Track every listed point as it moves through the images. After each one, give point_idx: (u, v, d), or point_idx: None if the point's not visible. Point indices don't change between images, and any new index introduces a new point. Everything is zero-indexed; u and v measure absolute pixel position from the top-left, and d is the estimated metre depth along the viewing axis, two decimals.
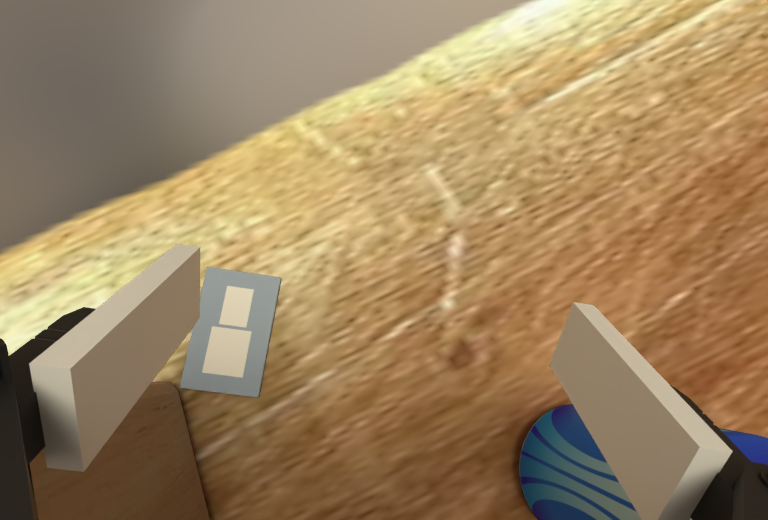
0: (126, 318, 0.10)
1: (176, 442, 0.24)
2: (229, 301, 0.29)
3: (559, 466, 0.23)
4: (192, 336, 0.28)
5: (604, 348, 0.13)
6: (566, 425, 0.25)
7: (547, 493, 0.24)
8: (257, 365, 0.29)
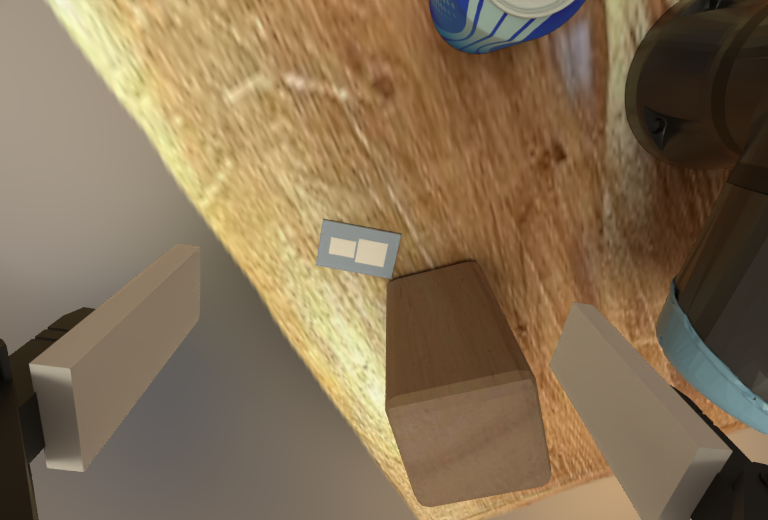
0: (126, 318, 0.10)
1: (420, 282, 0.43)
2: (338, 251, 0.44)
3: (466, 44, 0.32)
4: (360, 272, 0.45)
5: (604, 348, 0.13)
6: (441, 23, 0.33)
7: None
8: (381, 235, 0.44)
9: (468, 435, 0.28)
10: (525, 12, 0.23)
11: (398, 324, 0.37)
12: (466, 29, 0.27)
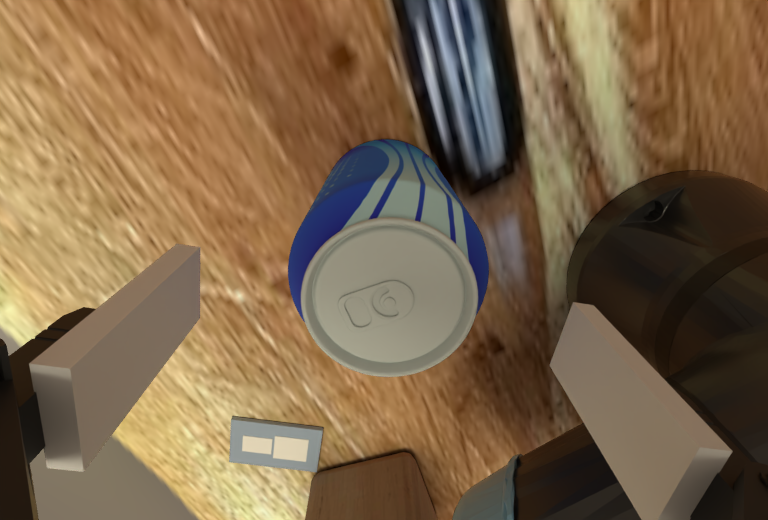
0: (126, 318, 0.10)
1: (345, 490, 0.37)
2: (253, 449, 0.39)
3: None
4: (281, 467, 0.40)
5: (604, 348, 0.13)
6: None
7: None
8: (300, 431, 0.38)
9: None
10: (385, 368, 0.17)
11: None
12: None
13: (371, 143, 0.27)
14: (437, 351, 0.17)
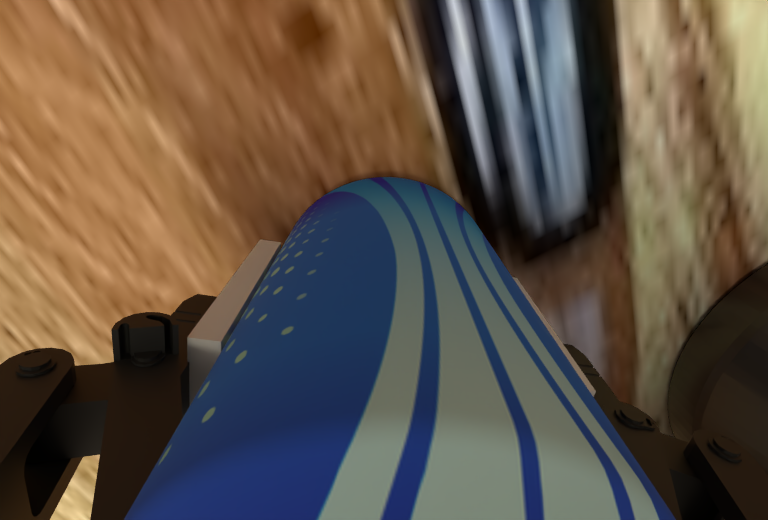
0: (245, 302, 0.12)
1: None
2: None
3: None
4: None
5: None
6: None
7: None
8: None
9: None
10: None
11: None
12: None
13: (360, 187, 0.15)
14: None
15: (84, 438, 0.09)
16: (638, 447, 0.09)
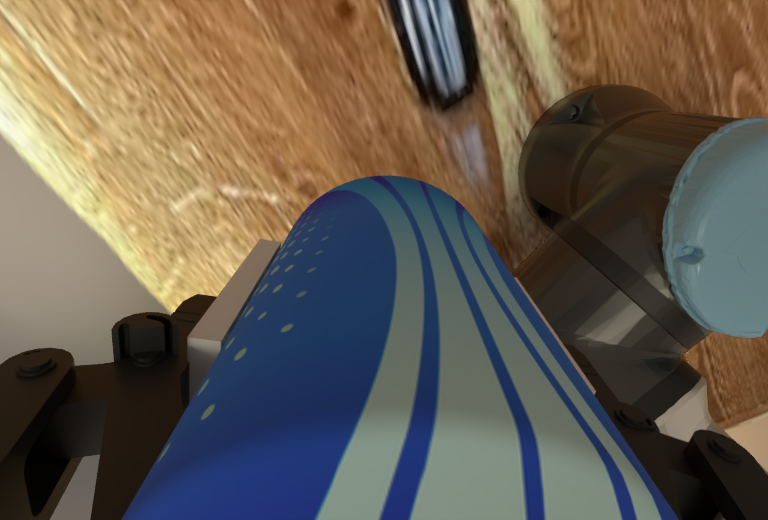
0: (245, 302, 0.12)
1: None
2: None
3: None
4: None
5: None
6: None
7: None
8: None
9: None
10: None
11: None
12: None
13: (360, 186, 0.15)
14: None
15: (84, 438, 0.09)
16: (637, 447, 0.09)
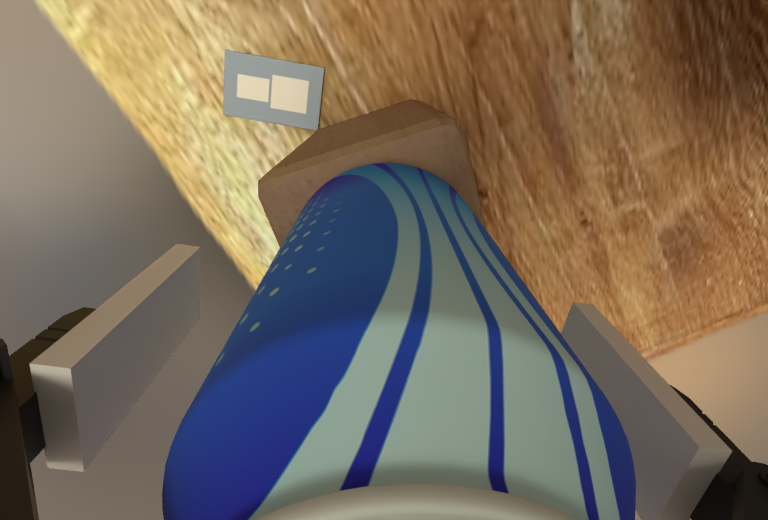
0: (126, 318, 0.10)
1: (348, 121, 0.34)
2: (249, 94, 0.36)
3: None
4: (279, 123, 0.37)
5: (604, 348, 0.13)
6: None
7: None
8: (299, 69, 0.35)
9: None
10: None
11: (306, 142, 0.28)
12: None
13: (364, 171, 0.16)
14: None
15: None
16: None
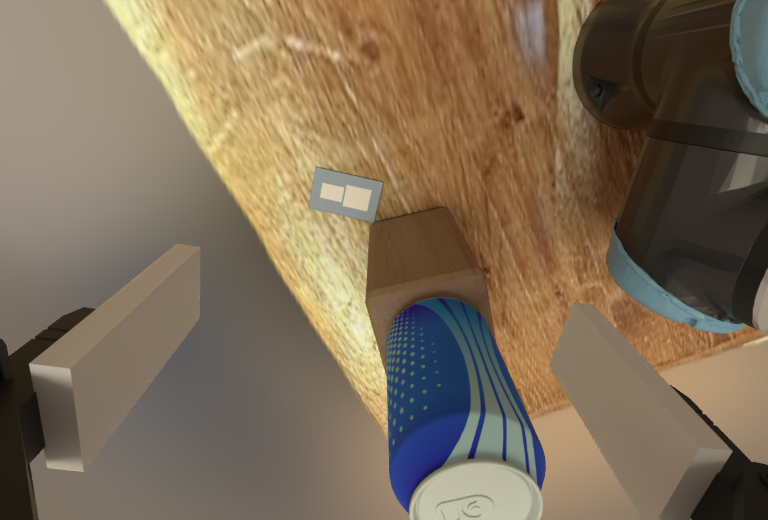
0: (126, 318, 0.10)
1: (399, 223, 0.50)
2: (328, 196, 0.51)
3: None
4: (347, 215, 0.52)
5: (604, 348, 0.13)
6: None
7: None
8: (366, 182, 0.51)
9: None
10: None
11: (378, 249, 0.44)
12: None
13: (435, 306, 0.32)
14: None
15: None
16: None
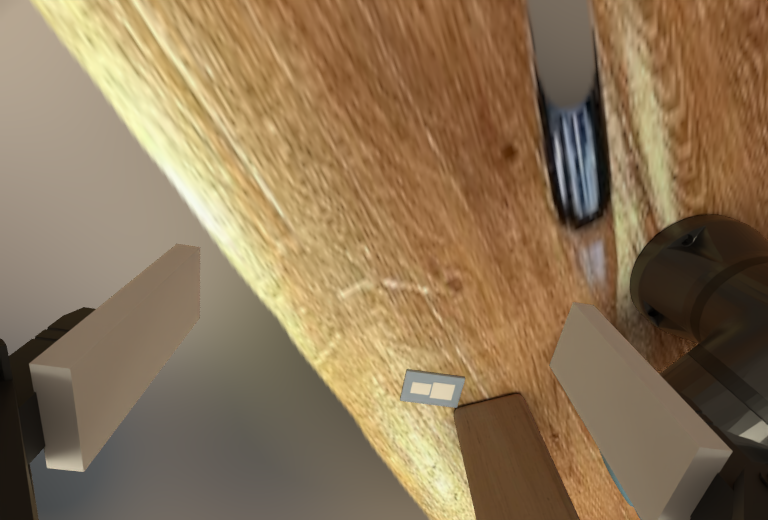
0: (126, 318, 0.10)
1: (482, 416, 0.57)
2: (418, 391, 0.59)
3: None
4: (433, 404, 0.60)
5: (604, 348, 0.13)
6: None
7: None
8: (450, 379, 0.59)
9: None
10: None
11: (475, 463, 0.51)
12: None
13: None
14: None
15: None
16: None
